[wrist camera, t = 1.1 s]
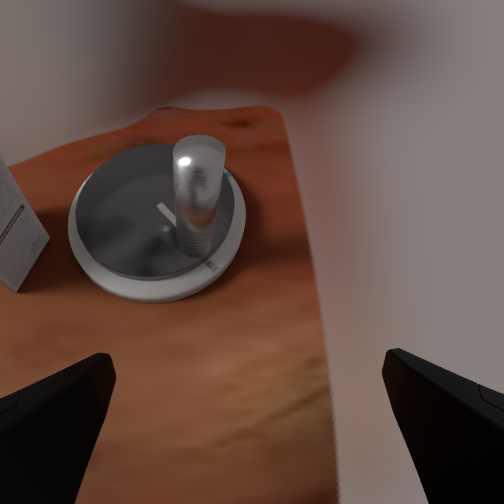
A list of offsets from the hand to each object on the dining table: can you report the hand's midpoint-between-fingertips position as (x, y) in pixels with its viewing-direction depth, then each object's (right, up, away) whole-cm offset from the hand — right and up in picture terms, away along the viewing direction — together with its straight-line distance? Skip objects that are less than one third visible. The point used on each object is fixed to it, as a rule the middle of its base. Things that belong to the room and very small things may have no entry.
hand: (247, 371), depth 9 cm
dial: (-7, +7, +13) cm, 17 cm away
